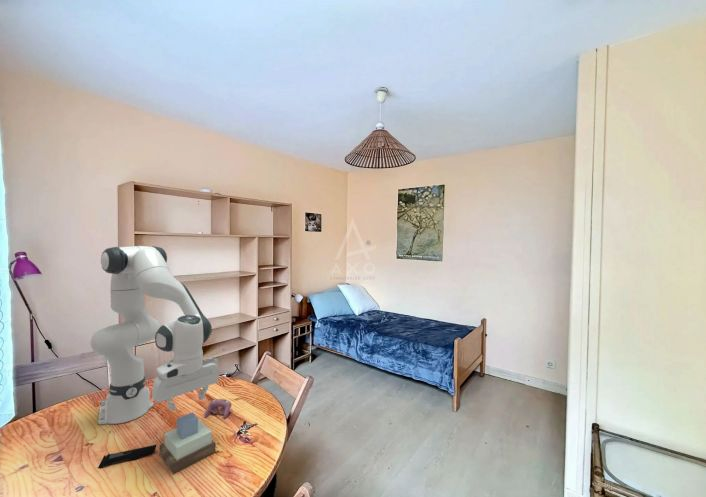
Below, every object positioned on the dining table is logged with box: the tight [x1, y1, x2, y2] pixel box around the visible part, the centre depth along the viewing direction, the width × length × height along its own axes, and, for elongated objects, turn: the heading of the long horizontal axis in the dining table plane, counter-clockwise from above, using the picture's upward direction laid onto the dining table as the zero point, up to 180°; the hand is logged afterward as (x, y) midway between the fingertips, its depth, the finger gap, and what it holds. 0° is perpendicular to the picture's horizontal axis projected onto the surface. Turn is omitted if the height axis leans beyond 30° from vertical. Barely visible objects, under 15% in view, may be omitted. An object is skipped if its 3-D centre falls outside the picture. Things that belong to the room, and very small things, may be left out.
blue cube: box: [176, 411, 199, 439], centre depth 99 cm, size 5×5×5 cm
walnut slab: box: [159, 439, 216, 475], centre depth 100 cm, size 13×13×4 cm
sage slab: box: [163, 418, 213, 460], centre depth 99 cm, size 11×11×4 cm
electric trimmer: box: [97, 444, 158, 469], centre depth 97 cm, size 4×16×3 cm, turn 114°
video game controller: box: [203, 398, 232, 419], centre depth 123 cm, size 10×5×7 cm, turn 86°
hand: (187, 404), depth 100 cm, fingers open, 8 cm apart
